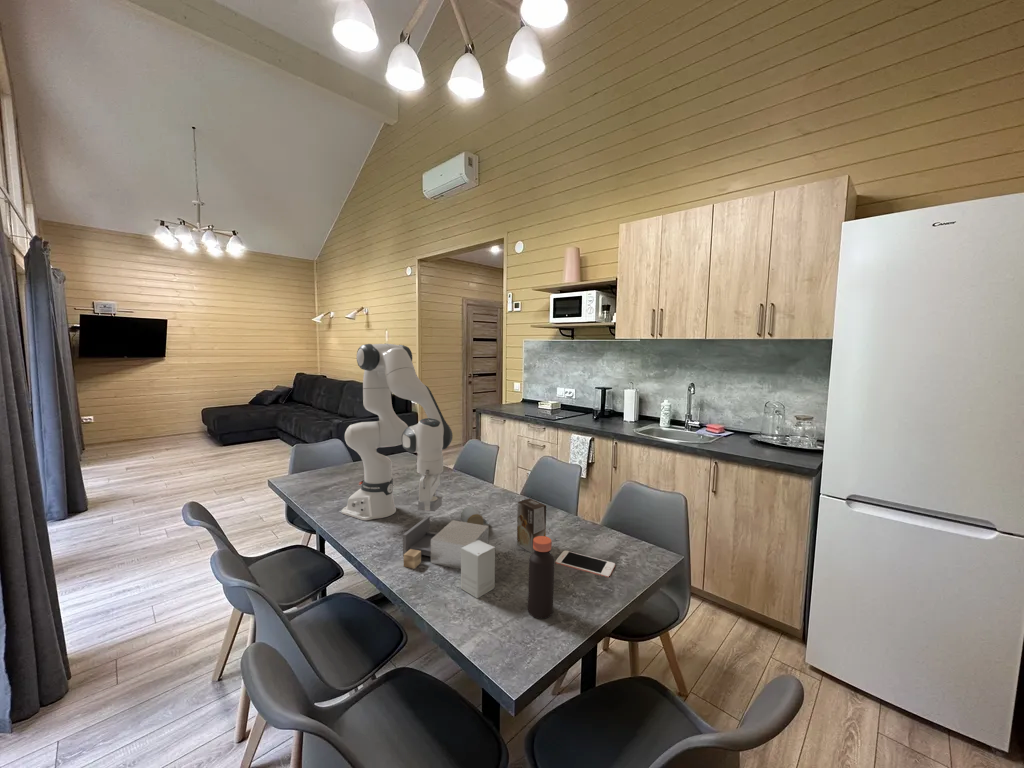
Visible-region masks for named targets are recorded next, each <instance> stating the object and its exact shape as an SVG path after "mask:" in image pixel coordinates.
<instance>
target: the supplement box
mask: <svg viewBox="0 0 1024 768" xmlns="http://www.w3.org/2000/svg"><path fill="white" fill-rule="evenodd" d="M495 571H496V546H494V545H491V544H489V543H488V544H487V543H484V542H482V541H480V540H477V541H475V542H473V543H470V544H468V545H466V546H464V547H462V548H461V569H460V589H461V590H462V591H464V592H466V593H468V594H469V595H471V596H472V597H474V598H476V599H479V598H480V597H482V596H484V595H485V594H487V593H489V592H490V591H493V590H494V589H495V585H496V582H495V580H496V578H495V577H496V576H495V575H496V573H495Z"/></svg>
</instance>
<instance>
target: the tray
mask: <svg viewBox="0 0 1024 768" xmlns="http://www.w3.org/2000/svg"><path fill="white" fill-rule="evenodd" d="M430 528H431V517H430V516H428V515H427V516H425V517H424V518H423V519H421V520H420V521H419V522H417V523H415V525H414V526H412V527H411V528H409V529H408V530H407V531H405V532H404V533H403V534H402V557H403V558H404V554H405V553H406V552H407V551H408V550H410V549H413V550H419V551H421V556H427V557H431V539H432V538H433V537H434V536H435V535H436V534H437V533H438V532H436V531H431V529H430Z"/></svg>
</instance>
